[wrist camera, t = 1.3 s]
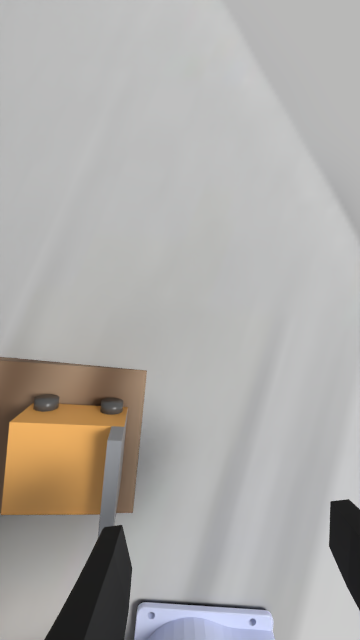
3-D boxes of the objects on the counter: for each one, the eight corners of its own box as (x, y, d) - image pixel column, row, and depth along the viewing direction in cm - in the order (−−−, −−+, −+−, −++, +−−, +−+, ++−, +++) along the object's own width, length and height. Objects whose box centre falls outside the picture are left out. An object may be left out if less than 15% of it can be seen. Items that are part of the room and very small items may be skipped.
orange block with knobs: (135, 399, 17) (122, 429, 13) (127, 489, 17) (110, 552, 13) (39, 390, 17) (-10, 418, 13) (31, 481, 17) (-21, 542, 13)
